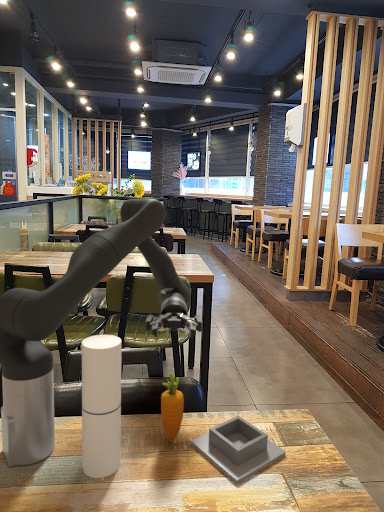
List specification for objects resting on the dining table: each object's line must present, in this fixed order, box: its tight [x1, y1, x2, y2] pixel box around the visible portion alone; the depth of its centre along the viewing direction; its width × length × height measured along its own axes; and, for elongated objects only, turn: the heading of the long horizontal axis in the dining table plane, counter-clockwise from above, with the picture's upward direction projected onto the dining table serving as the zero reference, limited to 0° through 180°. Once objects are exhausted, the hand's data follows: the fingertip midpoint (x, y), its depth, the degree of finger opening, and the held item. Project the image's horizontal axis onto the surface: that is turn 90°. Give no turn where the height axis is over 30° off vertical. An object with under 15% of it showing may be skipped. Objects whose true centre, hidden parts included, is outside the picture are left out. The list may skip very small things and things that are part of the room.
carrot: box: [160, 372, 185, 443], centre depth 78 cm, size 5×5×15 cm
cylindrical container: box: [81, 334, 122, 479], centre depth 70 cm, size 7×7×25 cm
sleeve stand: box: [190, 415, 287, 485], centre depth 77 cm, size 14×14×4 cm
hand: (174, 333), depth 88 cm, fingers open, 8 cm apart
